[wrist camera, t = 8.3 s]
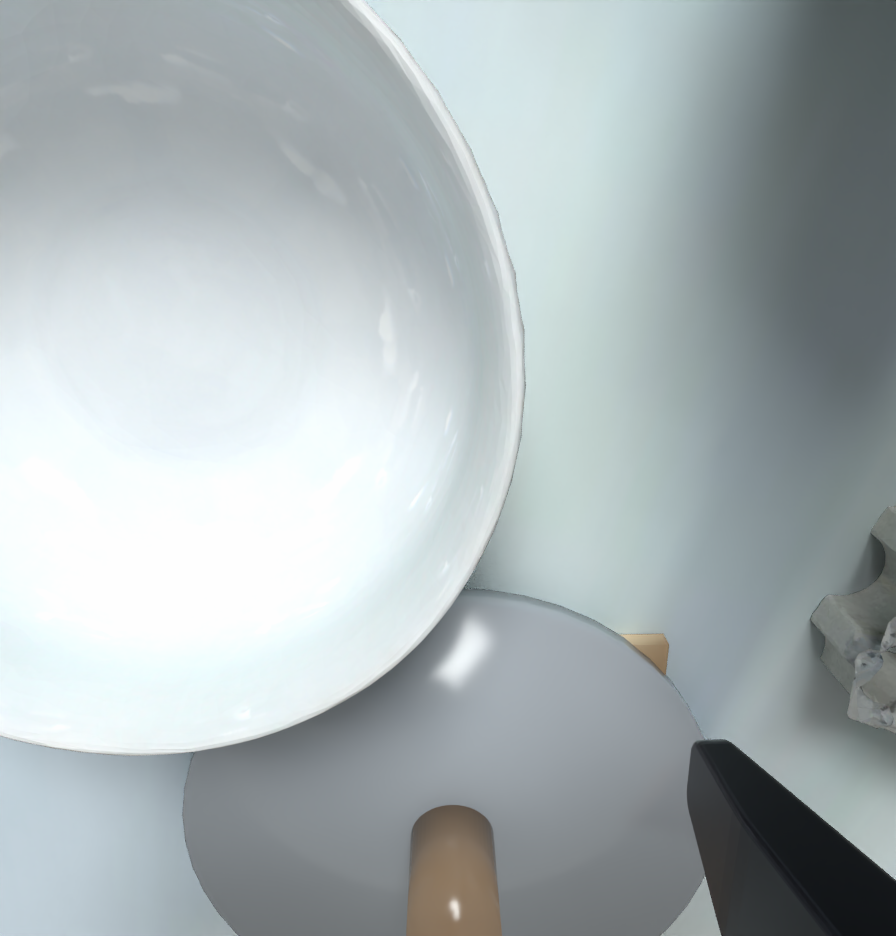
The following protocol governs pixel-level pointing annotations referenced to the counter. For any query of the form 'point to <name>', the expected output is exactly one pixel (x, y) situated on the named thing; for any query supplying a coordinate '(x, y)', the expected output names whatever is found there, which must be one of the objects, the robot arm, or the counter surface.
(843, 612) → the egg carton
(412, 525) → the cereal bowl
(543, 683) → the lid
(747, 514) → the counter surface
